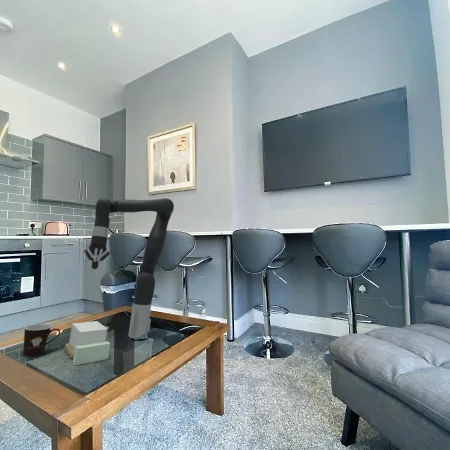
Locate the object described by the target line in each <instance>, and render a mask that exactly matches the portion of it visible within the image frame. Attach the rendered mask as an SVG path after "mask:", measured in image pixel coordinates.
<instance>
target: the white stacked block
mask: <svg viewBox="0 0 450 450" xmlns="http://www.w3.org/2000/svg"><path fill="white" fill-rule="evenodd" d="M107 334H108V328H107V327H106V326H104V325H103V324H102V323H100V322H99V321H96V320H95V321H86V322H75V323H71V330H70V335H69V341H68V343H69V344H70V345H71V347H72V348H73V349H74V351H75V346H79V345H86V344H92V343H99V342H106V341H107Z"/></svg>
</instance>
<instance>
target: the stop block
mask: <svg viewBox="0 0 450 450" xmlns="http://www.w3.org/2000/svg"><path fill="white" fill-rule="evenodd" d="M110 348H111V343H110V342H109V341H107V340H105V342H99V343H92V344H86V345H79V346H75V351H74V357H73V358H72V364H73V366H79V365H84V364H90V363H95V362H99V361H104V360H108V359H109V355H110Z"/></svg>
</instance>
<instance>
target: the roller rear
mask: <svg viewBox="0 0 450 450" xmlns="http://www.w3.org/2000/svg"><path fill="white" fill-rule="evenodd" d="M67 346H71V345H70V344H69V342H68V343H65V345H64V352H66V350H67Z"/></svg>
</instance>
